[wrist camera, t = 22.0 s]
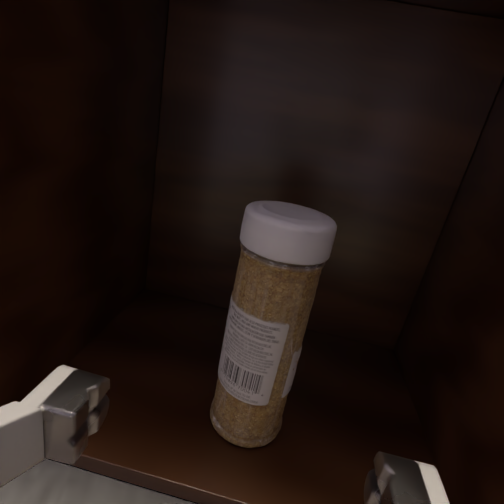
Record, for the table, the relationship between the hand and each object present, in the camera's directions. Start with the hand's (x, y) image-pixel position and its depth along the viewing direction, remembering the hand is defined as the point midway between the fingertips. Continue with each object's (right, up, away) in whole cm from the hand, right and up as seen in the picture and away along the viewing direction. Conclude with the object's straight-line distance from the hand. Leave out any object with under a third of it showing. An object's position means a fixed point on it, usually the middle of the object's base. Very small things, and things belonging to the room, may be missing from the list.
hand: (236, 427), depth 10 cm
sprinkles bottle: (0, -5, +11) cm, 13 cm away
